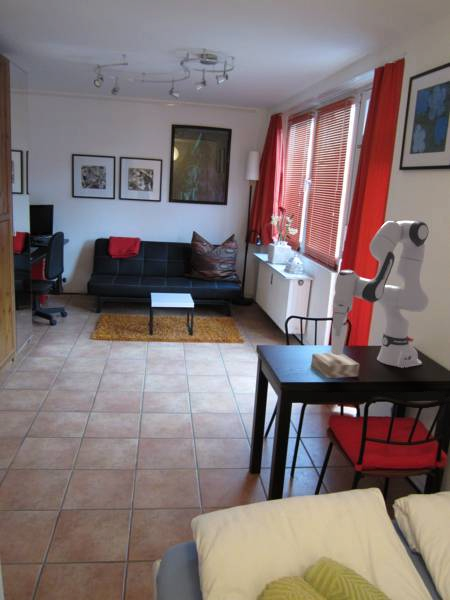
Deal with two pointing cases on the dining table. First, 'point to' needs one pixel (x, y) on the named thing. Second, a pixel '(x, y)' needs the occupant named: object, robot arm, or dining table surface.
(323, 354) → the birch block
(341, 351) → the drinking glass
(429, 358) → the dining table surface
